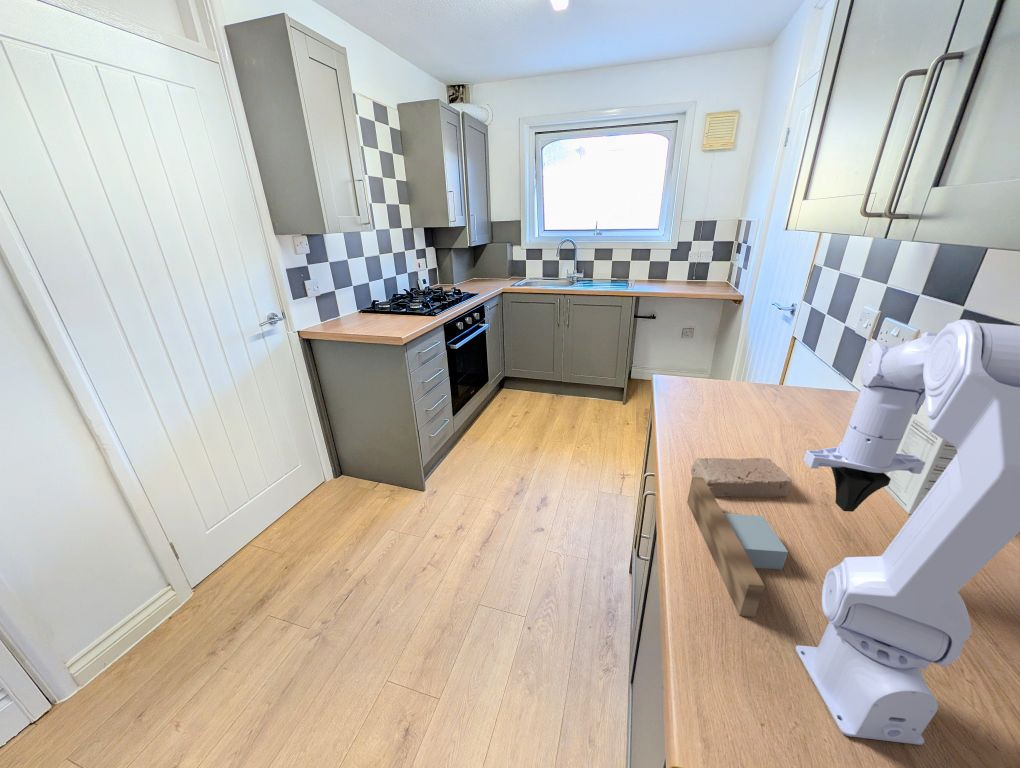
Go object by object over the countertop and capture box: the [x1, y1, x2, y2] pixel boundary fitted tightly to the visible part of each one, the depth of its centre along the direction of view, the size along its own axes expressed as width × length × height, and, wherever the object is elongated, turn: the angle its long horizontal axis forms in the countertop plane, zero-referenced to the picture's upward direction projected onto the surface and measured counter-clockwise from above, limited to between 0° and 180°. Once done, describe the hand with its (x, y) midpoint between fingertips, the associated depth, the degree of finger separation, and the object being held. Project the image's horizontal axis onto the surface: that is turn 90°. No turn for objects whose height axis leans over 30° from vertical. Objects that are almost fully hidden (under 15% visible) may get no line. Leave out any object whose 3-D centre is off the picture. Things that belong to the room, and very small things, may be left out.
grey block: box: [724, 513, 789, 570], centre depth 65 cm, size 8×8×4 cm
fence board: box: [686, 476, 765, 618], centre depth 64 cm, size 24×2×6 cm, turn 174°
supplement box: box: [883, 413, 957, 516], centre depth 72 cm, size 10×9×17 cm
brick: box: [690, 457, 793, 498], centre depth 81 cm, size 17×8×5 cm, turn 87°
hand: (844, 507), depth 60 cm, fingers closed
